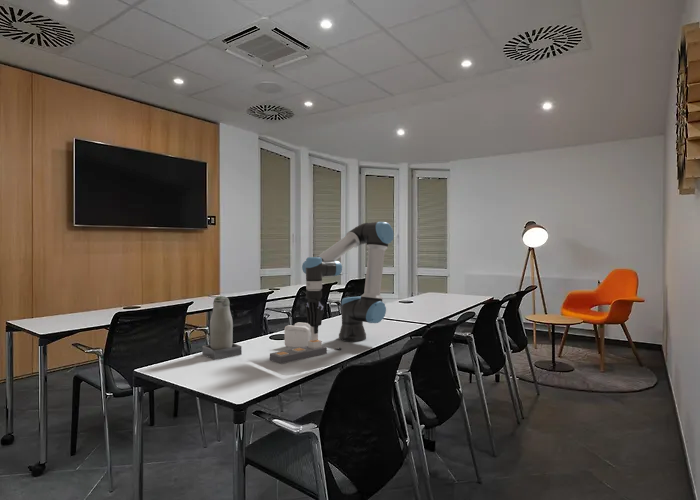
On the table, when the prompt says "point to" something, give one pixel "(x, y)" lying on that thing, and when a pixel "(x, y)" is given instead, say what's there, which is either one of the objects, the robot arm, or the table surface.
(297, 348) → the button
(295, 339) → the cable organizer
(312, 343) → the button
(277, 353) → the button
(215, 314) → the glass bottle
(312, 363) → the table surface
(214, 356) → the bottle coaster rim
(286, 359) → the power strip
